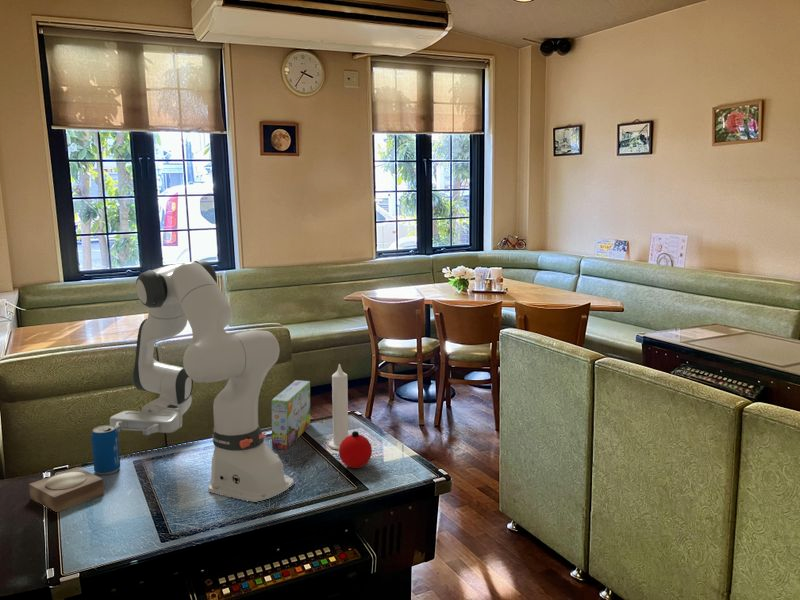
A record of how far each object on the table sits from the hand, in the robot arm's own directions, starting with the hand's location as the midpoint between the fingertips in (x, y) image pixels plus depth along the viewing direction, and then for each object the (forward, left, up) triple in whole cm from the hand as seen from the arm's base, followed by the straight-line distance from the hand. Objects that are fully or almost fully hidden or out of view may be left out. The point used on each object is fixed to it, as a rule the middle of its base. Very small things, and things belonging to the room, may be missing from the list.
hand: (129, 431), depth 183 cm
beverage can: (-6, +11, -7) cm, 14 cm away
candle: (-46, -39, -7) cm, 61 cm away
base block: (-12, +25, -7) cm, 28 cm away
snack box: (-29, -36, -7) cm, 47 cm away
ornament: (-59, -30, -7) cm, 66 cm away
